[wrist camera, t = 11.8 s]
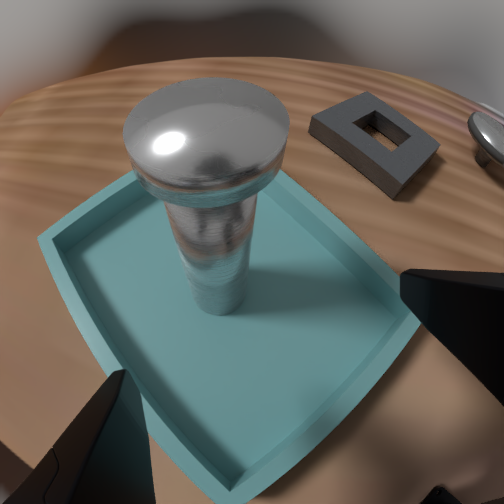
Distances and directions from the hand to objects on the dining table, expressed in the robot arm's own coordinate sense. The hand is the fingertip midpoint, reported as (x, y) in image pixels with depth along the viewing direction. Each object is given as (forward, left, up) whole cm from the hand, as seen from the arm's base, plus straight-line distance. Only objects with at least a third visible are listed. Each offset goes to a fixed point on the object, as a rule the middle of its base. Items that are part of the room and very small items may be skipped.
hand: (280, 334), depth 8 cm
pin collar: (+7, -22, -9) cm, 25 cm away
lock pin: (+5, -1, -8) cm, 10 cm away
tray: (+5, -1, -9) cm, 11 cm away
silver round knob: (-3, -35, -9) cm, 37 cm away
